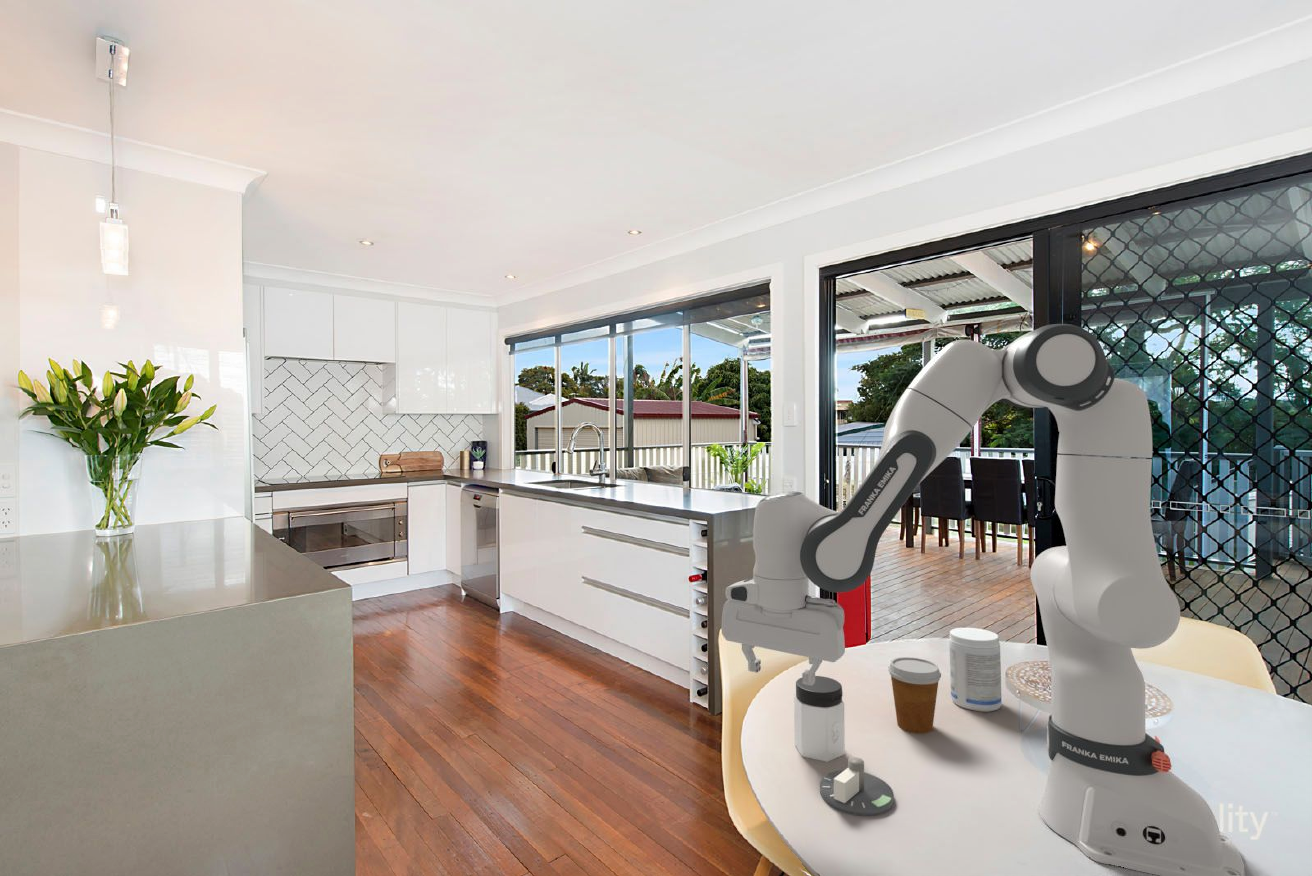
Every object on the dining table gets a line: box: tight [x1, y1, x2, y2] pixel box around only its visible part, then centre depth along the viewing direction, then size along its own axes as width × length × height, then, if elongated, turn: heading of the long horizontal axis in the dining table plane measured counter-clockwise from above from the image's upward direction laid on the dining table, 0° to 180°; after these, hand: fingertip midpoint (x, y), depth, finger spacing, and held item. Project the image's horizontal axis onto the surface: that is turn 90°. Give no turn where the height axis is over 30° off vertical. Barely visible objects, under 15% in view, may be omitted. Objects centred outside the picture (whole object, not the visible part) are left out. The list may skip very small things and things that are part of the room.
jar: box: [793, 675, 846, 763], centre depth 114 cm, size 9×8×12 cm
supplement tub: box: [948, 627, 1003, 713], centre depth 133 cm, size 10×10×15 cm
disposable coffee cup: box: [887, 656, 942, 735], centre depth 123 cm, size 10×10×12 cm
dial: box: [819, 769, 895, 817], centre depth 99 cm, size 11×11×1 cm
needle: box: [834, 756, 865, 803], centre depth 98 cm, size 6×2×4 cm, turn 135°
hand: (780, 677), depth 103 cm, fingers open, 8 cm apart
